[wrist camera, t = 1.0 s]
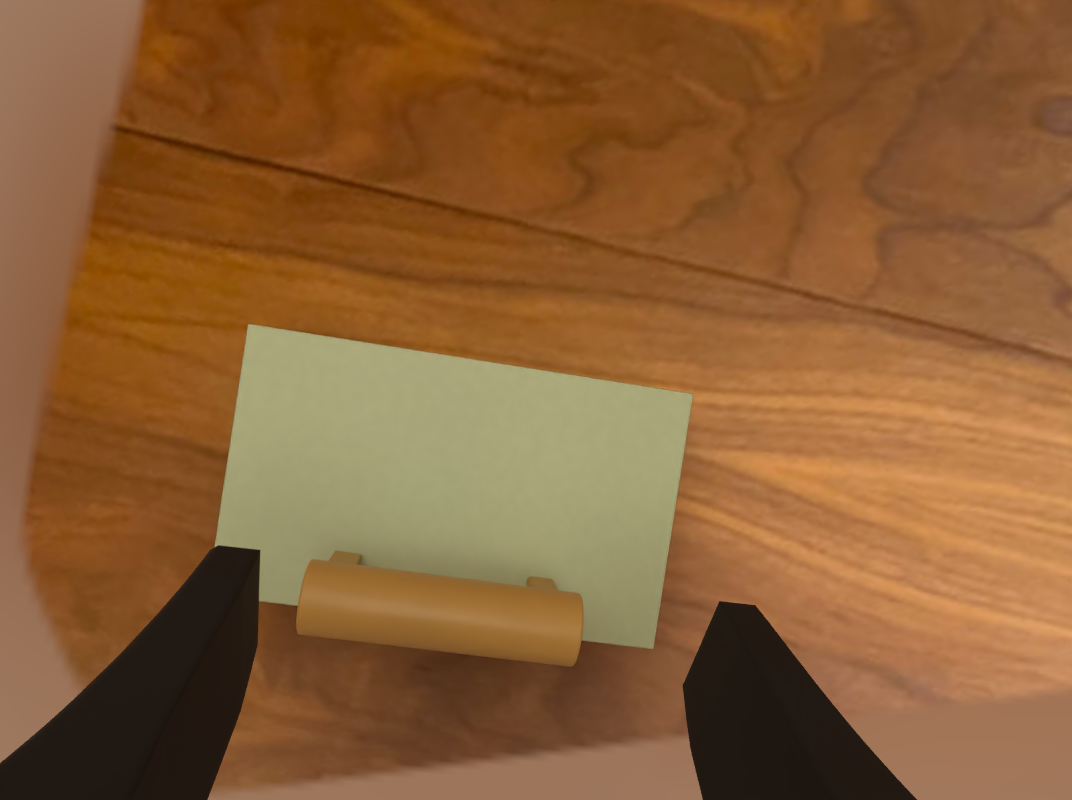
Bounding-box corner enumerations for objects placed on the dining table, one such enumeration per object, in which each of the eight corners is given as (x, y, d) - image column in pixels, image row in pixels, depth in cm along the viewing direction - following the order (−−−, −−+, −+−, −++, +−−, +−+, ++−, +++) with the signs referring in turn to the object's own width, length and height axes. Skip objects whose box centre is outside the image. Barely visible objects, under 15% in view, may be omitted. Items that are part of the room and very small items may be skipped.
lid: (648, 642, 22) (699, 710, 18) (213, 589, 21) (147, 647, 17) (687, 393, 22) (748, 397, 18) (253, 324, 21) (198, 310, 16)
